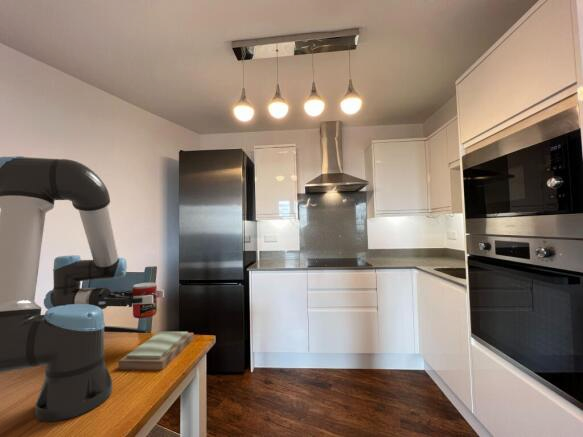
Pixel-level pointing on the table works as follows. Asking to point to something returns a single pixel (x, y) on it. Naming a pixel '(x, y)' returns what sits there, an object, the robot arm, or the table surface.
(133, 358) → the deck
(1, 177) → the robot arm
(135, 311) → the canned food
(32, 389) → the table surface
